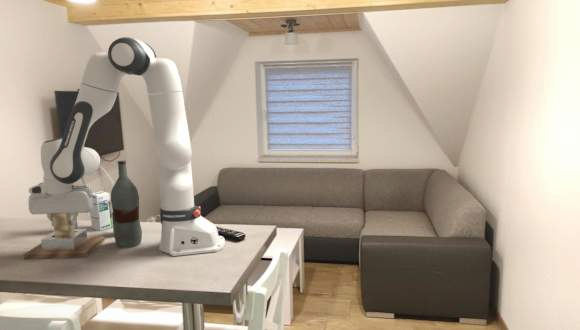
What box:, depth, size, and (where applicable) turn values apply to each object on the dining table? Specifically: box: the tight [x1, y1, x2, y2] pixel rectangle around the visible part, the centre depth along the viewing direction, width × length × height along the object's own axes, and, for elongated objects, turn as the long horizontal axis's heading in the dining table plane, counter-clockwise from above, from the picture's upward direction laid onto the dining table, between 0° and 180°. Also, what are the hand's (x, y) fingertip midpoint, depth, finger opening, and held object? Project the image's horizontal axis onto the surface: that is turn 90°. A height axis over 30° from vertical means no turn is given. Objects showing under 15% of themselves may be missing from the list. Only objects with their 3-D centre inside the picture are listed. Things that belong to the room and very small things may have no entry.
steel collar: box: [40, 228, 89, 251], centre depth 147 cm, size 10×10×4 cm
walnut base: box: [22, 235, 105, 260], centre depth 148 cm, size 20×16×2 cm
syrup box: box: [89, 190, 113, 232], centre depth 169 cm, size 6×6×14 cm
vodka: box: [110, 160, 143, 249], centre depth 149 cm, size 9×9×30 cm
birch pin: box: [52, 213, 75, 237], centre depth 146 cm, size 4×4×11 cm
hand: (63, 225), depth 146 cm, fingers closed on birch pin, 4 cm apart
